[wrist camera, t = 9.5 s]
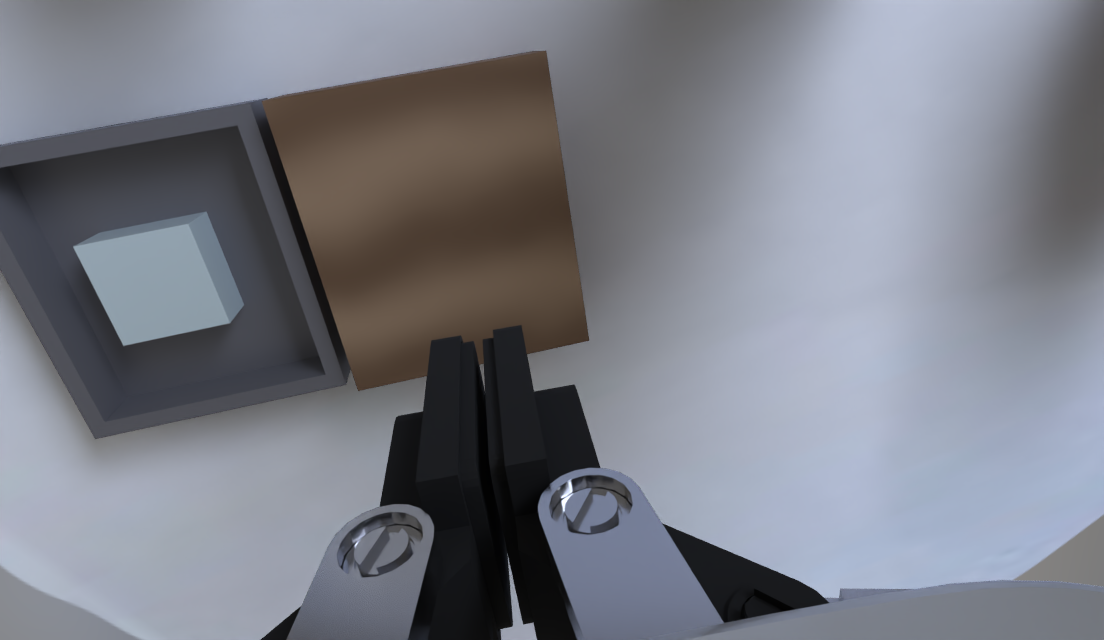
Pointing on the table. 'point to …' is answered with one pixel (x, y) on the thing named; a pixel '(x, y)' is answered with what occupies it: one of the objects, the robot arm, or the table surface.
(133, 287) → the tile
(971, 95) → the table surface
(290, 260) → the tray
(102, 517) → the table surface
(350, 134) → the board
